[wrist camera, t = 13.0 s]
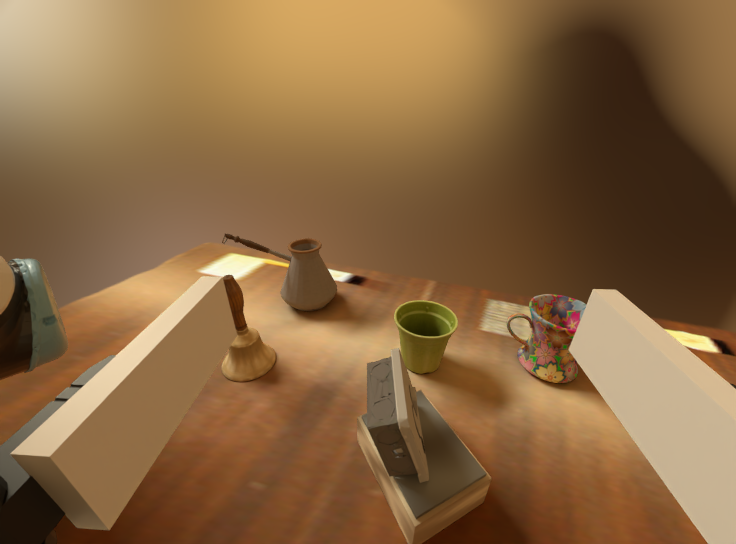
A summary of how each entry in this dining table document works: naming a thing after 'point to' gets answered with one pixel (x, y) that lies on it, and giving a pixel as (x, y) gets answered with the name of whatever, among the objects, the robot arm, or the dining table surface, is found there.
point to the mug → (550, 337)
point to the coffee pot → (302, 274)
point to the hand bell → (244, 342)
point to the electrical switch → (395, 417)
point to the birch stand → (430, 477)
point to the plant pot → (424, 333)
